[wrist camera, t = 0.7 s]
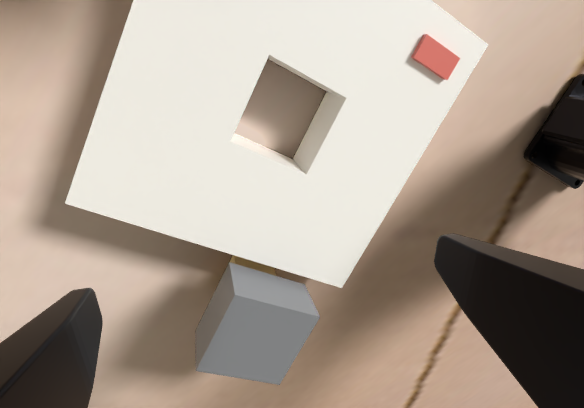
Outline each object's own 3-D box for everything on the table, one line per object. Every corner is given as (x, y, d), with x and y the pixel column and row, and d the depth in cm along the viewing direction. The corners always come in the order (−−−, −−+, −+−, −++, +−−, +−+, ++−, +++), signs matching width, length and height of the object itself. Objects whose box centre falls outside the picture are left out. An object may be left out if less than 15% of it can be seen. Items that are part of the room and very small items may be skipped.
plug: (292, 258, 25) (320, 316, 19) (261, 315, 26) (279, 384, 21) (225, 237, 23) (234, 294, 18) (195, 299, 24) (195, 370, 19)
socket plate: (452, 44, 22) (492, 44, 19) (326, 263, 26) (343, 291, 23) (195, -144, 15) (195, -189, 13) (82, 182, 19) (62, 206, 17)
